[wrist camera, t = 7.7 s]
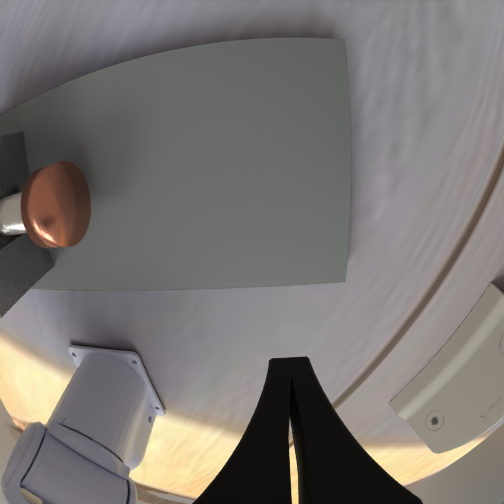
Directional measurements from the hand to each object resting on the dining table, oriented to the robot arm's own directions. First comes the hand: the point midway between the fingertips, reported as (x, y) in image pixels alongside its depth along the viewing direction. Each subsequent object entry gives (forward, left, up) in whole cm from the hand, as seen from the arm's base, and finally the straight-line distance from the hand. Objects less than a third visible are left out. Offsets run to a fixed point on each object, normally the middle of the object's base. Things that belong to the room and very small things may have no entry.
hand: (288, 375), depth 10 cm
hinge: (-12, -18, -10) cm, 24 cm away
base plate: (+6, +9, -9) cm, 14 cm away
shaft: (+6, +18, -7) cm, 20 cm away
